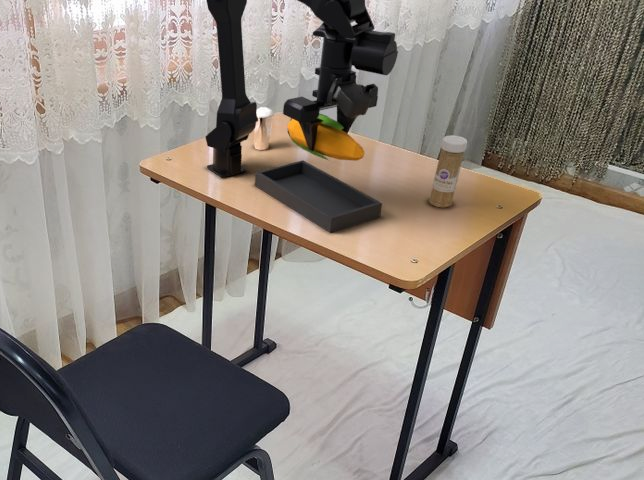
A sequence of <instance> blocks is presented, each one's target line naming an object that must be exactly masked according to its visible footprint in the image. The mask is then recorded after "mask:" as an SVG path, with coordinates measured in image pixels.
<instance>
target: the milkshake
mask: <svg viewBox="0 0 644 480" xmlns="http://www.w3.org/2000/svg"><path fill="white" fill-rule="evenodd" d="M256 113H257V118H258V121H257V122H256V126H255V129H254V130H253V132H254V133H253V136H254V139H253V140H254V148H255V149H256V150H259V151H265V150H268V149H269V147H270V146H269V145H270V138H271V132H272V126H273V121H274V115H275V113H274V111H273V110H272V109H271V108H269V107H264V106H260V107H259V108H257V110H256Z"/></svg>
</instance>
